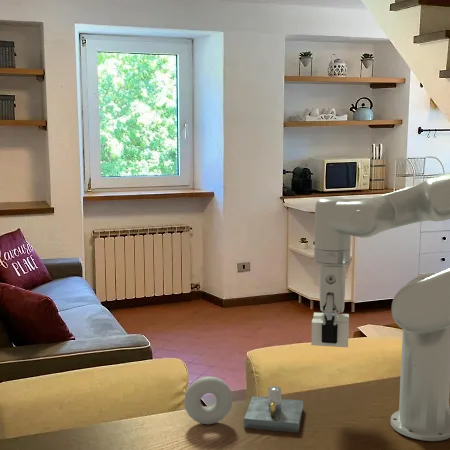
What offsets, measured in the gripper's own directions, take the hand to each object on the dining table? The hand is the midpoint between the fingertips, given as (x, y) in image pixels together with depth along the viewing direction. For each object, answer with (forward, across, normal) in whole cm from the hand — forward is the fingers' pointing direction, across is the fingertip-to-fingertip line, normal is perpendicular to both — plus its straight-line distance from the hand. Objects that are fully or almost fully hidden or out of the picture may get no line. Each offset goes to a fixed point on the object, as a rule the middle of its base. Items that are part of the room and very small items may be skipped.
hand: (330, 336), depth 136 cm
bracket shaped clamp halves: (+1, 0, 0) cm, 1 cm away
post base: (+16, -9, +11) cm, 21 cm away
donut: (+16, -14, +24) cm, 32 cm away
